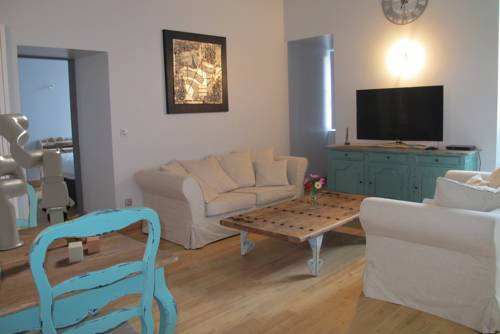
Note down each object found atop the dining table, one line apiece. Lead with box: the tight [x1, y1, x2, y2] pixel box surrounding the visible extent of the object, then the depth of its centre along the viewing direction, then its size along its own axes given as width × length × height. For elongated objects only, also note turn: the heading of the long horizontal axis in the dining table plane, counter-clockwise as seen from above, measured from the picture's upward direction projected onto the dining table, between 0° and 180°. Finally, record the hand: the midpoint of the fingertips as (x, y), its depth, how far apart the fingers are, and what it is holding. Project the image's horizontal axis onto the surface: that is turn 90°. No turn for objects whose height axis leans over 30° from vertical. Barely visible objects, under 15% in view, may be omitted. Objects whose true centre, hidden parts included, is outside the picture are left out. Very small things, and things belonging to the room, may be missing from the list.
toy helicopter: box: [64, 213, 87, 246], centre depth 208 cm, size 8×21×14 cm, turn 123°
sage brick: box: [49, 207, 64, 226], centre depth 192 cm, size 8×5×6 cm, turn 19°
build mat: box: [66, 253, 87, 264], centre depth 187 cm, size 9×7×1 cm
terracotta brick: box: [86, 235, 101, 254], centre depth 197 cm, size 8×5×6 cm, turn 19°
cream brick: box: [67, 241, 84, 264], centre depth 187 cm, size 8×5×6 cm, turn 19°
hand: (57, 221), depth 193 cm, fingers closed on sage brick, 5 cm apart
